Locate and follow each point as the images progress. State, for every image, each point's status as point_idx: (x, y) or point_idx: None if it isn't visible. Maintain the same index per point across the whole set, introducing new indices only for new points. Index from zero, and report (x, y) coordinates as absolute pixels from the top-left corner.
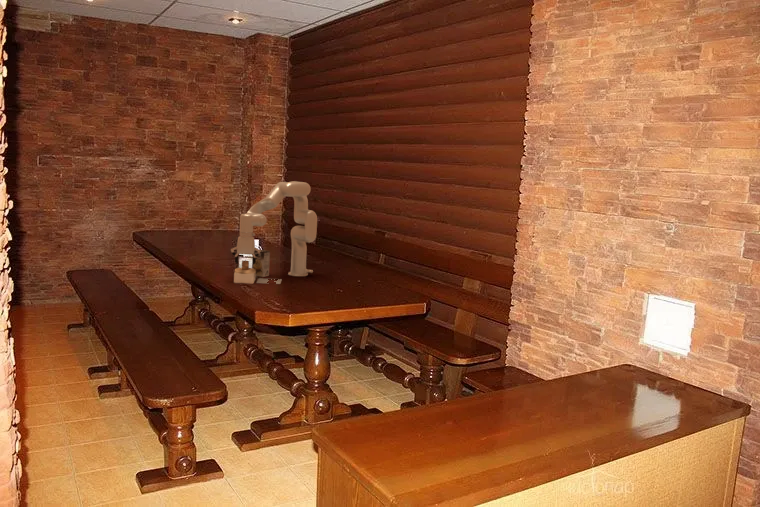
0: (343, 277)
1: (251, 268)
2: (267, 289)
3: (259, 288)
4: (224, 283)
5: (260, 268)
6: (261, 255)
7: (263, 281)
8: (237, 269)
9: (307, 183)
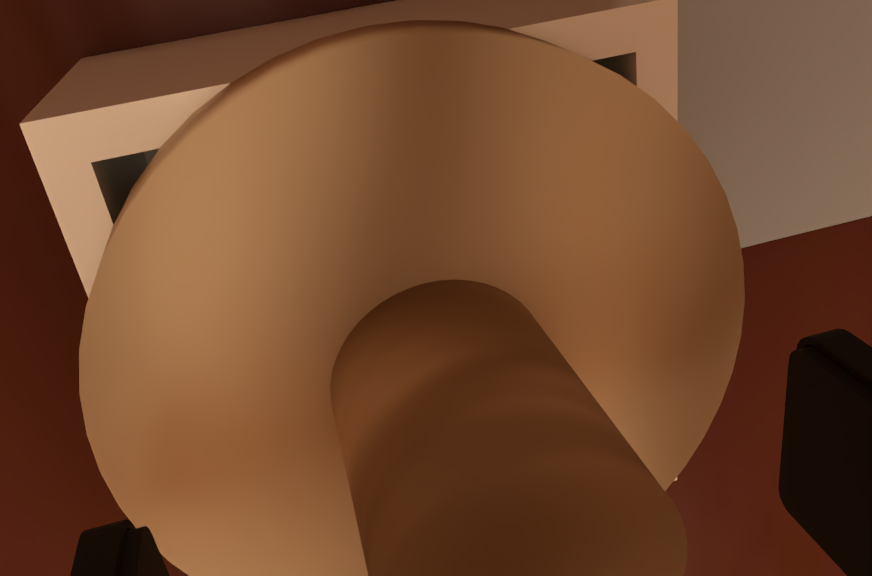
0: None
1: (595, 116)
2: (818, 565)
3: (712, 565)
4: (42, 528)
5: None
6: None
7: (752, 85)
8: (215, 491)
9: None
